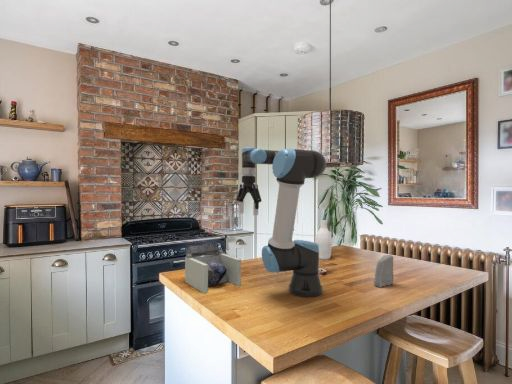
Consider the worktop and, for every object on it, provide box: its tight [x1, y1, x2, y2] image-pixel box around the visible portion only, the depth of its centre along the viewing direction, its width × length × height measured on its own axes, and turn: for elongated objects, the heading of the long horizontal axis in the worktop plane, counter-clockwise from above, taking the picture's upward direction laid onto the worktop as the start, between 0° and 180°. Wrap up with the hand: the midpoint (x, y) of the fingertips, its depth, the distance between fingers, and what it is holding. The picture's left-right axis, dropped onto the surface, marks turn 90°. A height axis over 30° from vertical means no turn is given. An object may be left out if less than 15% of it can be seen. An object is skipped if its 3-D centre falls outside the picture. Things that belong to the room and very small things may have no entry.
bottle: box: [314, 219, 333, 260], centre depth 212 cm, size 11×11×25 cm
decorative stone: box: [373, 254, 395, 288], centre depth 154 cm, size 11×6×15 cm, turn 124°
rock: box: [208, 261, 227, 286], centre depth 152 cm, size 11×10×10 cm
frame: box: [184, 249, 242, 294], centre depth 154 cm, size 20×20×14 cm
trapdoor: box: [185, 243, 229, 287], centre depth 158 cm, size 21×15×7 cm
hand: (248, 214), depth 173 cm, fingers open, 13 cm apart
